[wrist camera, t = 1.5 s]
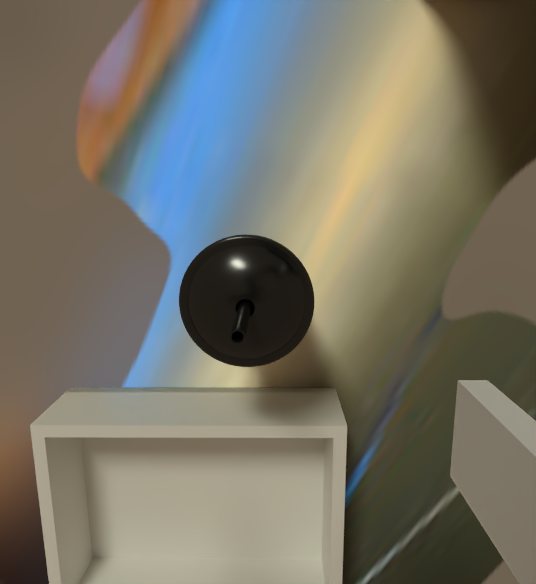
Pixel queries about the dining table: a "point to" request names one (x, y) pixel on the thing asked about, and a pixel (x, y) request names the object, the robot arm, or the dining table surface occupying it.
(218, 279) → the drinking cup
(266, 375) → the dining table surface
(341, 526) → the box
